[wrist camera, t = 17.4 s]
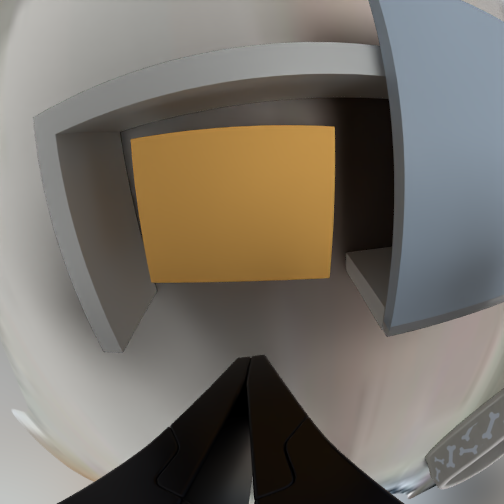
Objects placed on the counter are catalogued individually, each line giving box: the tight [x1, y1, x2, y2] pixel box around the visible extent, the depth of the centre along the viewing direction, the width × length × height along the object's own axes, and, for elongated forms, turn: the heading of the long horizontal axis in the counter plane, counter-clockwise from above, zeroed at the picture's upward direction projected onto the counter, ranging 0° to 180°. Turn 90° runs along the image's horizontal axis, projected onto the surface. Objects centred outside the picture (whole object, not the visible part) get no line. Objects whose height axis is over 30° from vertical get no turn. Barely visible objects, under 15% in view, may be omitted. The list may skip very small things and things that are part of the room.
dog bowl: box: [425, 388, 504, 489], centre depth 17 cm, size 17×18×5 cm
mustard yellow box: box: [131, 125, 335, 283], centre depth 8 cm, size 4×5×4 cm
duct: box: [33, 42, 392, 353], centre depth 8 cm, size 8×22×4 cm, turn 98°
